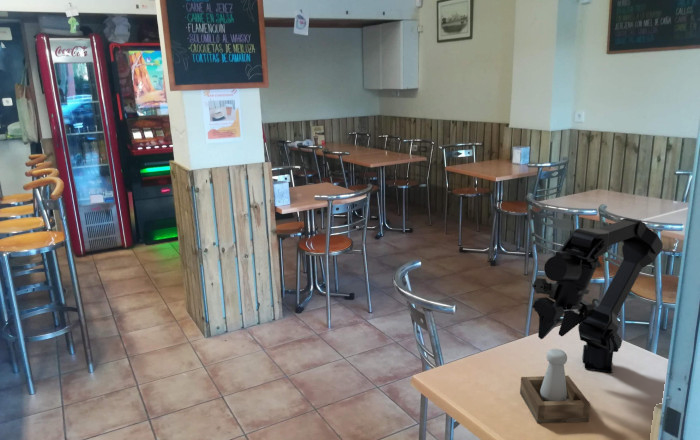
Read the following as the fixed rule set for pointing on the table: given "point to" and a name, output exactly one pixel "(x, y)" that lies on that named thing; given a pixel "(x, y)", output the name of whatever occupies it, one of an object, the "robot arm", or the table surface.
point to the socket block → (554, 402)
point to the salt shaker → (555, 377)
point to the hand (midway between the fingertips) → (550, 336)
